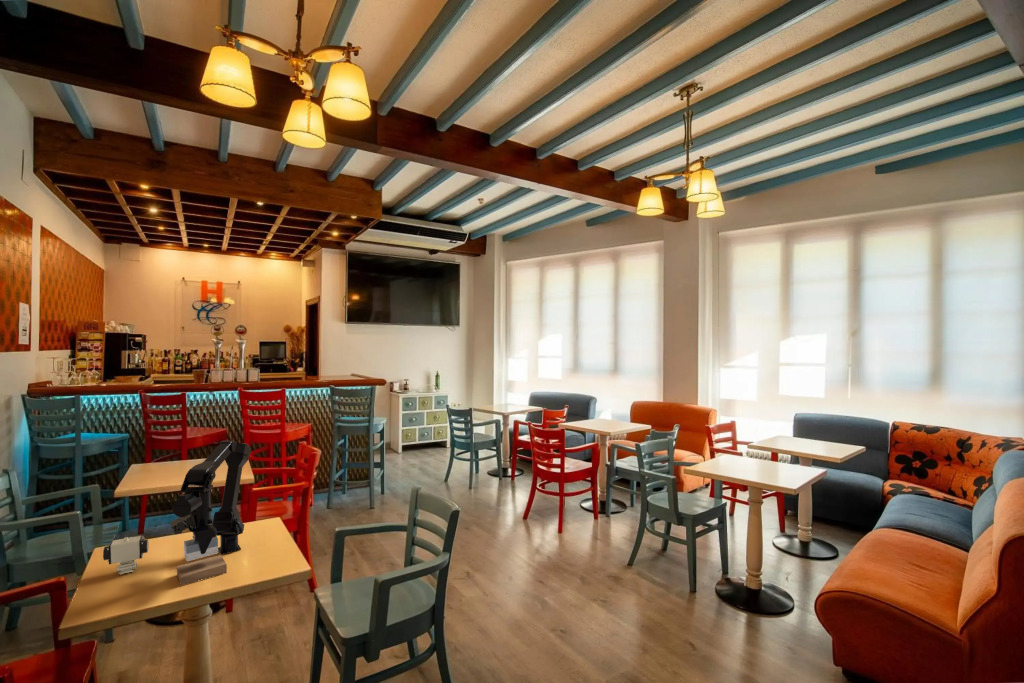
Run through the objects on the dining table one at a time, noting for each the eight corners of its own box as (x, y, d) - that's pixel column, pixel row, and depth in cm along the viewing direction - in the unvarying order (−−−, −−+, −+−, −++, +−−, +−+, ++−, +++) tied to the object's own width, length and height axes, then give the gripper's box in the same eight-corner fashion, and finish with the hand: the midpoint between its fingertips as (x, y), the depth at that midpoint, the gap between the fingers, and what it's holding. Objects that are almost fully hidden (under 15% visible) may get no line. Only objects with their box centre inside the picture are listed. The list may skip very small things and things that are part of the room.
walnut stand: (176, 575, 167) (176, 566, 167) (221, 563, 176) (220, 554, 176) (180, 586, 161) (180, 576, 160) (226, 572, 169) (226, 564, 169)
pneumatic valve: (147, 570, 170) (146, 536, 170) (103, 579, 164) (102, 543, 164) (149, 564, 175) (148, 530, 174) (106, 572, 169) (106, 537, 168)
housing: (215, 548, 173) (214, 533, 173) (218, 553, 169) (217, 538, 169) (184, 555, 167) (184, 541, 167) (186, 561, 163) (186, 546, 163)
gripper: (167, 503, 169) (169, 548, 170) (175, 520, 155) (177, 569, 156) (206, 495, 176) (206, 538, 177) (216, 511, 162) (217, 558, 163)
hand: (201, 550), depth 168 cm, fingers closed on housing, 5 cm apart
